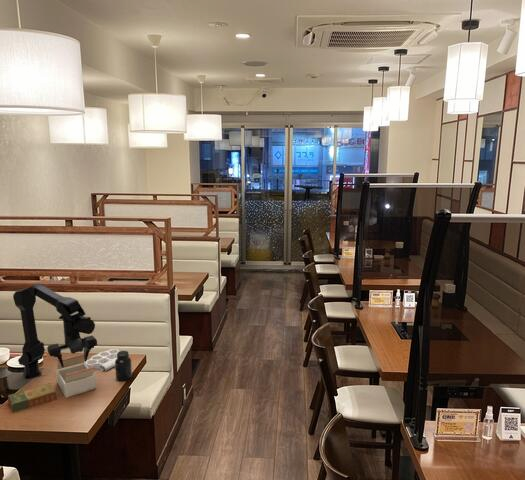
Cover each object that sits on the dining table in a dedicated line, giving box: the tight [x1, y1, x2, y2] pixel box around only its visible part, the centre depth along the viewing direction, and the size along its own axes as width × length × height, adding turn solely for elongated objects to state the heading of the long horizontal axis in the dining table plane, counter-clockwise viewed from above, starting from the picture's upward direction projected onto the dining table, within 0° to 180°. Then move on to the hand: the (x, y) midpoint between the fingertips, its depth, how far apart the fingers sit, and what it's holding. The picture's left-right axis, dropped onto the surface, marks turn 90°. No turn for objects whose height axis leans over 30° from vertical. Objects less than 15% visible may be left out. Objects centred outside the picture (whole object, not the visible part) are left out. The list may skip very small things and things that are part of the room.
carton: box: [7, 382, 57, 413], centre depth 189 cm, size 8×16×4 cm, turn 128°
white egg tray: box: [84, 348, 120, 372], centre depth 222 cm, size 3×18×15 cm
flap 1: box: [56, 353, 85, 370], centre depth 203 cm, size 5×11×1 cm
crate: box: [55, 362, 96, 398], centre depth 200 cm, size 14×12×6 cm
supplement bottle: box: [114, 350, 133, 382], centre depth 207 cm, size 7×7×12 cm
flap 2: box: [66, 367, 95, 382], centre depth 193 cm, size 5×11×1 cm
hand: (74, 364), depth 199 cm, fingers open, 9 cm apart
